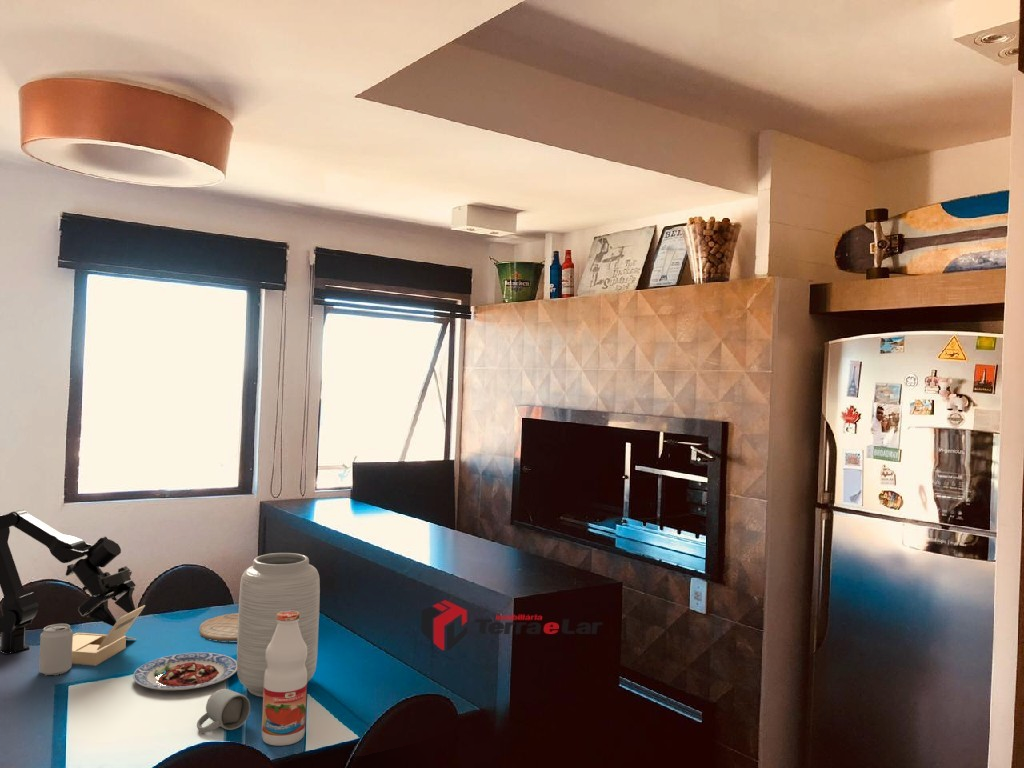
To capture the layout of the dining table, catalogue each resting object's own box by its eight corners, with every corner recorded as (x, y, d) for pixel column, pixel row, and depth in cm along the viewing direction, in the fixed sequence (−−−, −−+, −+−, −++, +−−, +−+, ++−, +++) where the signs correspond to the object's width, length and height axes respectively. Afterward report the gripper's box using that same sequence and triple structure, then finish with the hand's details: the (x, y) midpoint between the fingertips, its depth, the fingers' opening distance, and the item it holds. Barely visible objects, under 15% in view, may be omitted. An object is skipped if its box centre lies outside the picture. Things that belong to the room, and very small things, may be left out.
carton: (43, 661, 212) (44, 649, 212) (91, 636, 233) (91, 625, 233) (95, 665, 211) (96, 652, 211) (138, 640, 231) (139, 628, 231)
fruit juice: (301, 725, 180) (306, 605, 180) (308, 743, 172) (313, 617, 171) (259, 731, 176) (263, 608, 176) (263, 749, 168) (268, 621, 168)
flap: (96, 649, 212) (119, 617, 211) (123, 634, 224) (144, 604, 223) (97, 650, 211) (120, 618, 211) (124, 635, 224) (145, 605, 223)
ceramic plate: (258, 671, 212) (258, 660, 212) (183, 705, 189) (183, 693, 189) (189, 654, 223) (190, 643, 223) (110, 684, 199) (110, 672, 199)
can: (56, 678, 201) (58, 632, 201) (31, 675, 203) (33, 629, 203) (78, 668, 209) (79, 623, 209) (54, 664, 210) (55, 620, 210)
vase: (288, 708, 189) (293, 571, 189) (218, 695, 195) (223, 562, 195) (330, 678, 208) (335, 554, 208) (266, 667, 214) (270, 547, 214)
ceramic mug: (231, 713, 185) (232, 681, 185) (250, 723, 180) (251, 691, 180) (189, 728, 177) (190, 694, 177) (207, 739, 172) (208, 705, 172)
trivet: (224, 615, 259) (224, 609, 259) (295, 621, 256) (295, 615, 256) (182, 639, 235) (183, 633, 235) (260, 646, 231) (260, 640, 231)
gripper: (92, 567, 208) (127, 612, 207) (132, 552, 227) (164, 593, 226) (62, 593, 209) (97, 638, 208) (104, 575, 228) (137, 617, 227)
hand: (126, 620), depth 217 cm, fingers open, 9 cm apart
